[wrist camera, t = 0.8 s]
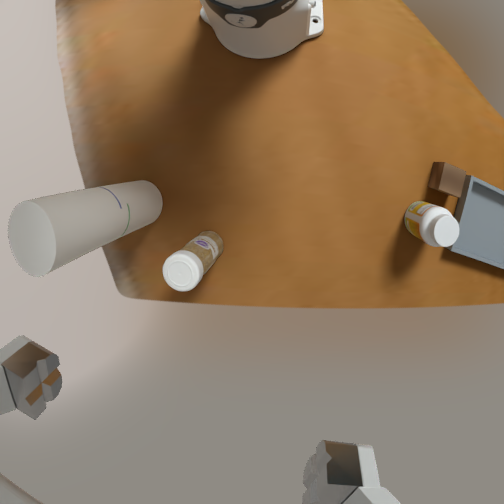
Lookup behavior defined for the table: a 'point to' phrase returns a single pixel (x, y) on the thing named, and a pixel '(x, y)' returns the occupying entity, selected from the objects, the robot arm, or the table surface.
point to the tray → (480, 222)
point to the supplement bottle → (432, 224)
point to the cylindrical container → (78, 223)
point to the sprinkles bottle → (192, 261)
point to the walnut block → (447, 179)
